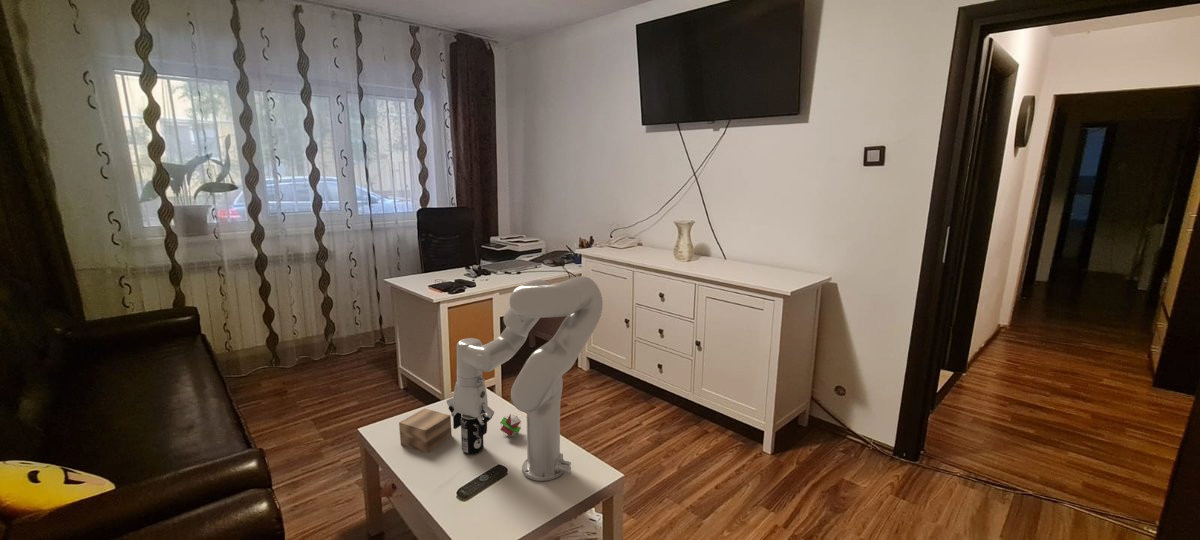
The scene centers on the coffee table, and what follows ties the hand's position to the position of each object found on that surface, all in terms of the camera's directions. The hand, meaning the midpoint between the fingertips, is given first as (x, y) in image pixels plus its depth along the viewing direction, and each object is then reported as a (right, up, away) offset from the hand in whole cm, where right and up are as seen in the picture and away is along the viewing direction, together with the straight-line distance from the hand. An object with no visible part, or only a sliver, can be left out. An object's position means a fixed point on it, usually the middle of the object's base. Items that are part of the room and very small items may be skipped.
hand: (470, 430), depth 158 cm
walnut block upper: (-16, -2, +5) cm, 17 cm away
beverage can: (+1, -6, +1) cm, 7 cm away
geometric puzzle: (+11, -5, +9) cm, 15 cm away
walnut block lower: (-16, -6, +6) cm, 18 cm away
